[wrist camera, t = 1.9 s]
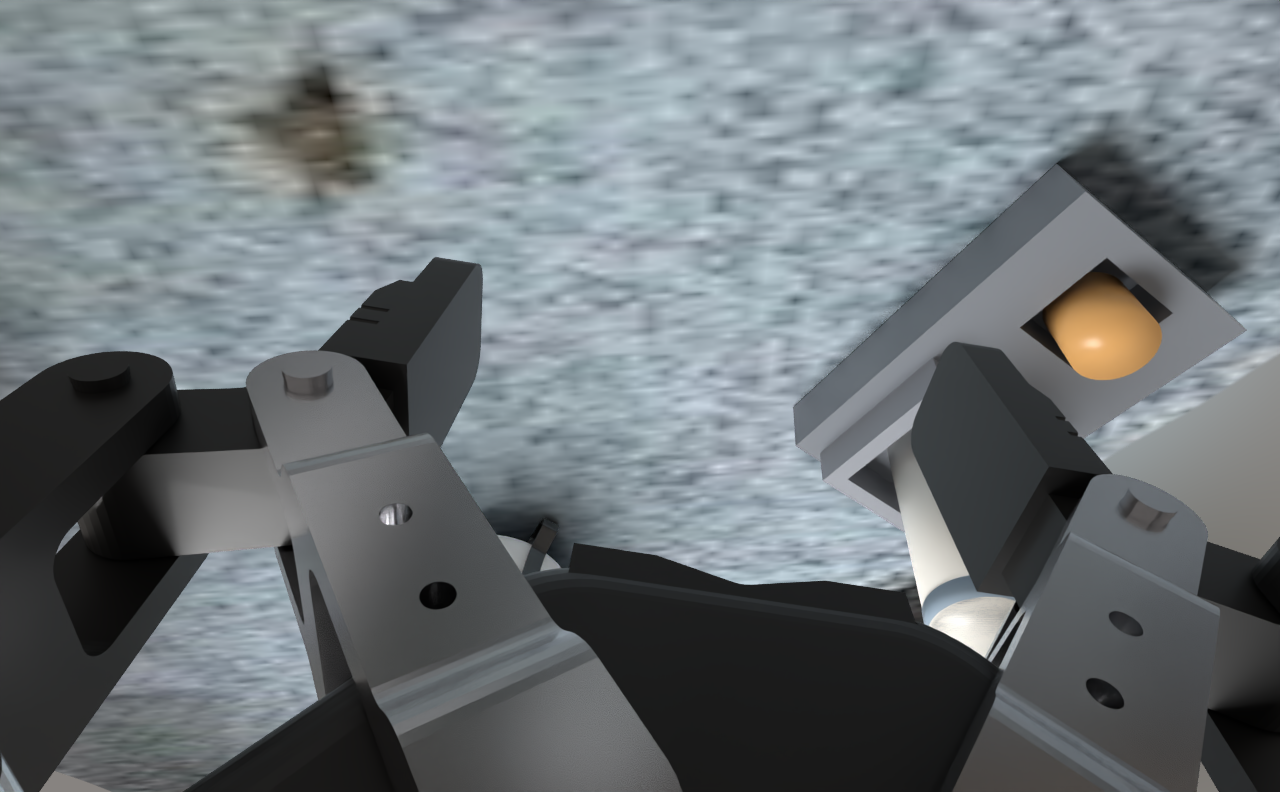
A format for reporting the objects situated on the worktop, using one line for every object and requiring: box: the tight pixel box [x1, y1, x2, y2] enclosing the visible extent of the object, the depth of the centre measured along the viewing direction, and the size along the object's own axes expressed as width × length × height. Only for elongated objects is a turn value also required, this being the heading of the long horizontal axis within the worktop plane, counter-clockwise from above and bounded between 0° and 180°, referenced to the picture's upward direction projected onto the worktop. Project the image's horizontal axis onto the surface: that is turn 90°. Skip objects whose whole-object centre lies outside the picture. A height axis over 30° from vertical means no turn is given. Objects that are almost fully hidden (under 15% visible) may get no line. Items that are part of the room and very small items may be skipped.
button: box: [1042, 272, 1162, 380], centre depth 36 cm, size 4×4×4 cm
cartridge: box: [887, 429, 1016, 657], centre depth 37 cm, size 5×5×13 cm
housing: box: [793, 164, 1247, 532], centre depth 40 cm, size 20×12×6 cm, turn 147°
